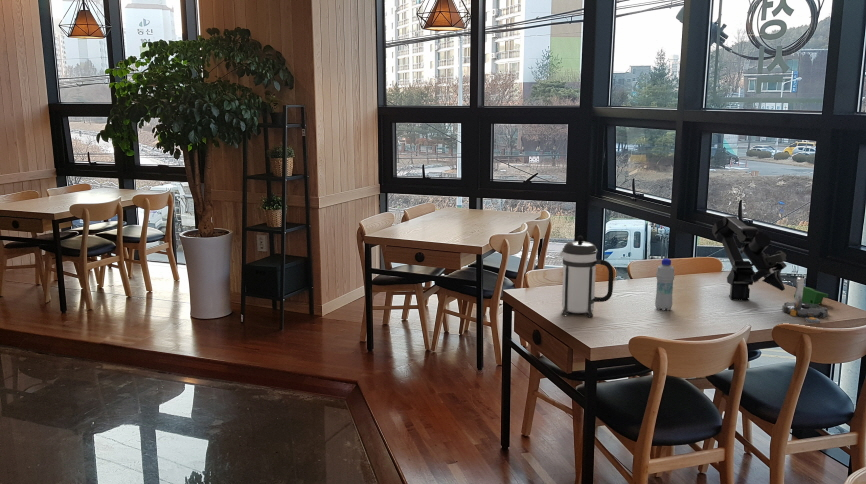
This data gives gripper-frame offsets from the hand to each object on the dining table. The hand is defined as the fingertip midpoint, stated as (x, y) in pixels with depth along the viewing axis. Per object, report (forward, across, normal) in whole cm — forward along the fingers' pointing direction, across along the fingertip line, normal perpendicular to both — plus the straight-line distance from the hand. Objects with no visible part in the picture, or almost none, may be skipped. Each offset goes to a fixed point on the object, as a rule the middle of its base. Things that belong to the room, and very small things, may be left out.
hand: (783, 290), depth 269 cm
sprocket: (+11, +5, +2) cm, 12 cm away
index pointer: (+15, -4, -3) cm, 16 cm away
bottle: (-17, -29, +29) cm, 45 cm away
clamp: (+8, +21, +5) cm, 23 cm away
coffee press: (-30, -56, +43) cm, 77 cm away
